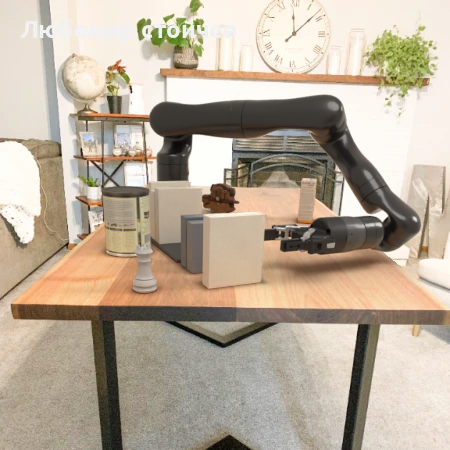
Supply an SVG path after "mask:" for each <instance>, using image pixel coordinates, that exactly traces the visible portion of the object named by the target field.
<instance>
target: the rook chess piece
mask: <svg viewBox="0 0 450 450" xmlns="http://www.w3.org/2000/svg"><path fill="white" fill-rule="evenodd" d="M134 252H135V254H136V255H137V256H136V259H135V261H136V273H135V275H134V278H133V280H132V284H133V286H132V287H131V288H132V290H133V291H134V292H135V293H138V294H150V293H154V292H156V290H158V285H157V283H158V280H157V278H156V277H155V275H154V272H153V268H152V261H153V258H152V254H153V253H154V250H153V248H152V245H148V244H146V247H144V244H141V247H140V245H137V246H136V249H135V251H134Z"/></svg>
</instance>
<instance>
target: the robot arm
mask: <svg viewBox="0 0 450 450" xmlns="http://www.w3.org/2000/svg"><path fill="white" fill-rule="evenodd" d="M148 123H149V126H150V128H151V129H152V131H153V132H154V133H155V134H156V135H157V136H159V137H161V138H163V142H162V146H161V148H160V150H158V152H157V153H156V157H155V159H156V161H155V162H156V181H189V182H190V158H191V154H192V152H193V140H194V136H195V135H196V136H205V137H212V138H219V139H220V138H221V139H231V140H253V139H254V140H255V139H259V138H262V137H266V136H267V135H269V134H270V135H271V134H272V133H275V132H277V131H278V132H279V131H282V130H298V131H307V132H308V134H309V136H310V138H311V139H312V141H314V142H315V143H316V144H317V145H318V146H319V147H320V148H321V149H322V150H323V151H324V152H325V153H326V154H327V155H328V156H329V158H330V159H331V160H332V161H333V163H334V164H335V165H336V167H337V168H338V170H339V171H340V172H341V175H342V177H343V179H344V180H345V182H346V183H347V185H348V187H349V188H350V190H351V192H352V194H353V195H354V197H355V198H356V200H357V202H358V203H359V205H360V206H361V207H362V209H363V211H364V212H365V213H366V214H368V215H358V216H351V215H338V216H337V215H336V216H322V217H317V218H315V219H314V220H312V223H310V225H299V224H296V223H289V224H273V225H271V228H265V231H264V242H269V241H270V242H271V241H280V243H279V251H280V252H282V253H288V252H290V253H291V252H300V253H305V252H307V254H308V255H320V256H324V255H325V256H326V255H334V254H344V253H350V252H354V251H362V250H368V249H370V250H373V251H378V252H381V253H390V252H394V251H396V250H399V249H400V248H402V247H403V246H404V245H405V244H406V243H408V242H409V241H410V240H412V239H413V238H414V237H415V236H417V235H418V234H419V233H420V231H421V229H422V221H421V217H420V215H419V214H418V212H417V211H416V210H415V209H414V208H413V207H411V206H410V205H409V204H407V203H406V202H405V201H403V199H401V197H399V196H398V195H397V194H396V193H394V192H393V190H392V189H391V187H390V186H389V185H388V183H387V181H386V180H385V179H384V177H383V176H382V174H381V173H380V171H379V170H378V168H376V166H375V165H374V164H373V162H371V161H370V160H369V159H368V158H367V157H366V155H364V153H362V151H361V150H360V148H359V147H358V145H357V144H356V142H355V140H354V139H353V136H352V134H351V131H350V129H349V126H348V120H347V114H346V111H345V107H344V103H343V102H342V101H341V99H339V97H337V96H336V95H333V94H326V93H325V94H323V93H322V94H315V95H314V94H313V95H307V96H300V97H294V98H278V99H277V98H275V99H274V98H273V99H271V98H270V99H232V100H231V99H230V100H220V101H212V102H205V103H197V104H196V103H194V104H192V103H181V102H177V101H169V100H165V101H161V102H158V103H157V104H155V105H154V106H153V108H151V109H150V112H149V116H148ZM382 211H383V212H384V213H386V215H387V216H386V217H385V219H383V220H381V219H380V218H379V217H377V216H374V215H376V214H378V213H381V212H382ZM298 225H299V226H298Z"/></svg>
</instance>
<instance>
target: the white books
mask: <svg viewBox="0 0 450 450" xmlns="http://www.w3.org/2000/svg"><path fill="white" fill-rule="evenodd" d="M191 183H192V182H191V181H190V180H189V181H157V180H156V181H152V180H151V181H147V188H148V189H149V212H150V242H151V243H152V244H154V246H156V247H157V248H158V249H159V250H161V251H162V252H163V253H165V254H166V255H167V256H168V257H169V258H171V259H172V260H173V261H174V262H176V263H181V215H192V214H203V202H202V195H203V187H200V186H191V185H192V184H191Z"/></svg>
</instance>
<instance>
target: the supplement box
mask: <svg viewBox="0 0 450 450" xmlns="http://www.w3.org/2000/svg"><path fill="white" fill-rule="evenodd" d="M317 182H318V179H317V178H306V177H303V178H301V181H300V189H299V190H300V192H299V199H298V200H299V202H298V211H297V212H298V213H297V223H300V224H301V223H302V224H312V222H313V219H314V212H315V203H316V194H317Z"/></svg>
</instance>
